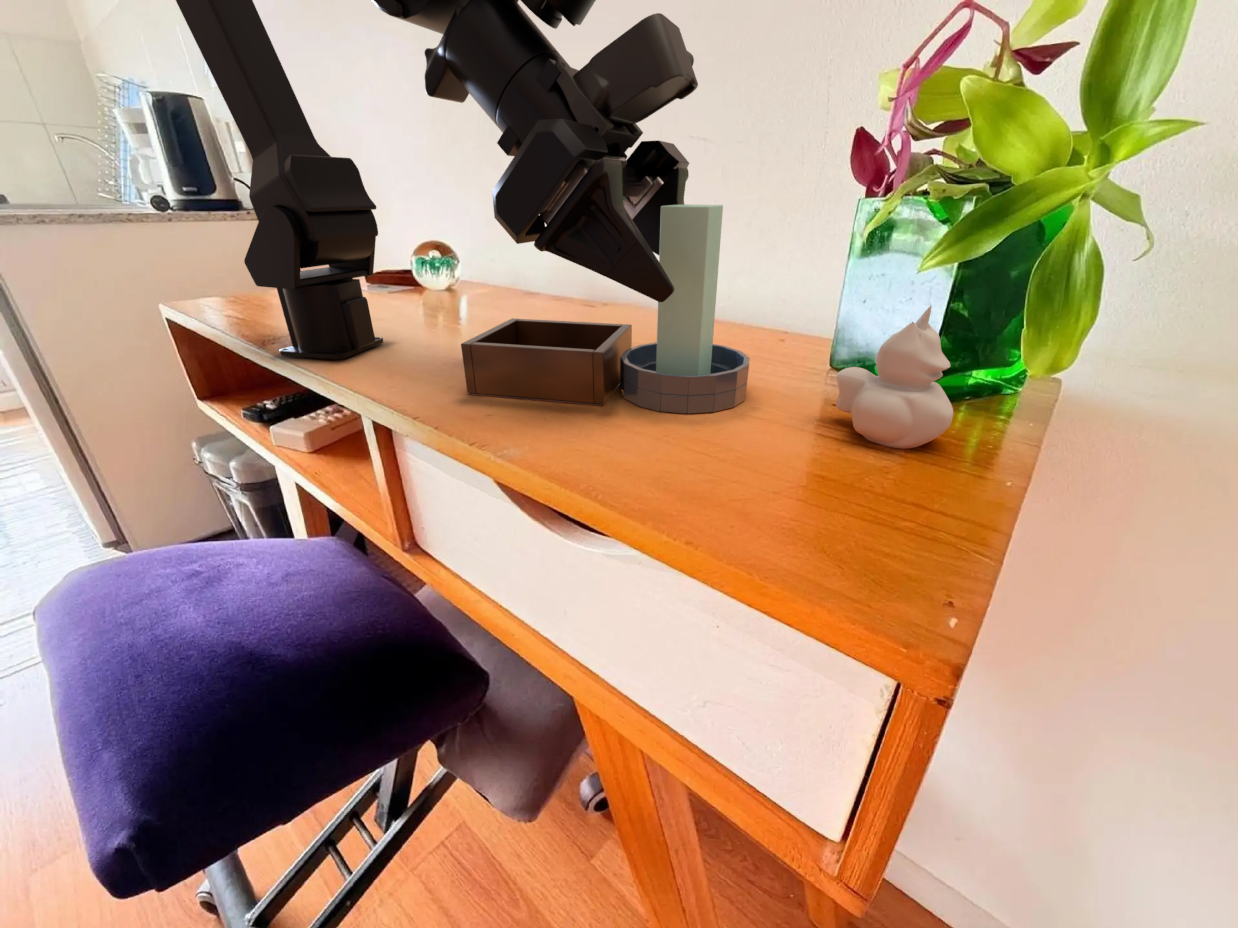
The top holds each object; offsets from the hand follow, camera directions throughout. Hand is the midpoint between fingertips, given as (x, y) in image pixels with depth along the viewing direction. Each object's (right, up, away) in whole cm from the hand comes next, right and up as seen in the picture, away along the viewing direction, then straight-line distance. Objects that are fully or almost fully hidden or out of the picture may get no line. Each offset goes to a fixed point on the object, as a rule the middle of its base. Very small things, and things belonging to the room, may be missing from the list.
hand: (690, 285), depth 36 cm
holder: (-10, -6, +6) cm, 13 cm away
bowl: (0, -7, +4) cm, 8 cm away
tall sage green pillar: (0, -6, +3) cm, 7 cm away
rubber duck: (+11, -10, -3) cm, 15 cm away
